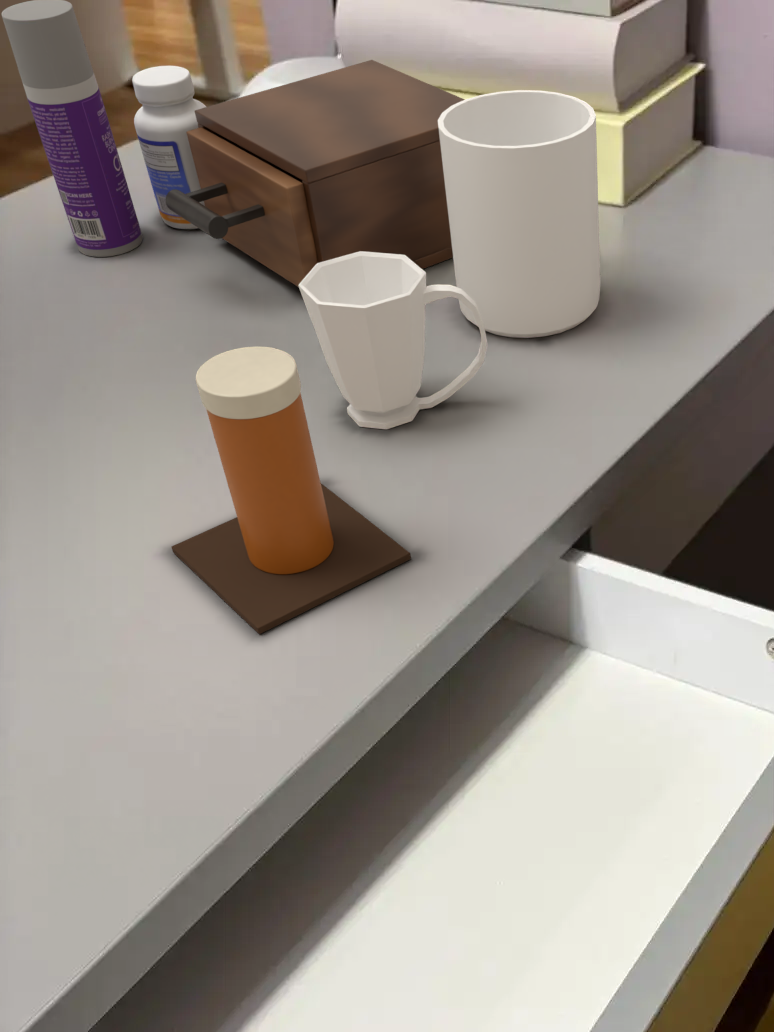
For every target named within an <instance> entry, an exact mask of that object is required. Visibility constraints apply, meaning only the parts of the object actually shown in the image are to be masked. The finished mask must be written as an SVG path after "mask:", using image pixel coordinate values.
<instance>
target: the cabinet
mask: <svg viewBox="0 0 774 1032" xmlns="http://www.w3.org/2000/svg"><path fill="white" fill-rule="evenodd" d="M463 100H465V98H463V97H460V96H458V95H456V94H453V93H451V92H449V91H446V90H444V89H441V88H439V87H437V86H434V85H432V84H431V83H427V82H426V81H423V80H421V79H418V78H416V77H414V76H411V75H409V74H406V73H405V72H401V71H400V70H397V69H395V68H393V67H390V66H388V65H386V64H384V63H381V62H379V61H376V60H373V59H370V60H366V61H362V62H358V63H355V64H352V65H349V66H345V67H342V68H338V69H334V70H331V71H327V72H324V73H321V74H317V75H313V76H310V77H307V78H303V79H299V80H296V81H293V82H289V83H285V84H282V85H278V86H276V87H271V88H268V89H265V90H261V91H258V92H254V93H251V94H250V93H249V94H248V95H244V96H241V97H237V98H233V99H229V100H227V101H223V102H219V103H216V104H212V105H209V106H206V107H205V108H202V109H198V110H195V116H196V120H197V122H198V128H200V127H202V128H204V129H205V130H207V131H209V132H211V133H213V134H214V135H216V136H218V137H220V138H222V139H224V140H225V141H227V139H228V140H230V141H232V142H234V143H236V144H237V145H239V146H241V147H243V148H245V149H246V150H248V151H250V152H252V153H254V154H256V155H257V156H259V157H261V158H263V159H265V160H266V161H268V162H270V163H272V164H274V165H276V166H277V167H279V168H281V169H283V170H285V171H286V172H288V173H290V174H292V175H294V176H296V177H297V178H299V179H301V180H302V183H303V187H304V192H305V197H306V202H307V207H308V212H309V217H310V223H311V228H312V233H313V238H314V243H315V248H316V253H317V259H318V263H320V262H323V261H327V260H330V259H334V258H338V257H341V256H345V255H348V254H352V253H356V252H359V251H364V252H376V253H389V254H401V255H406V256H407V257H408V258H409V259H410V260H412V261H413V262H414V263H415V264H416V265H418V266H419V267H420V268H421V269H422V270H424V269H426V268H429V267H431V266H435V265H437V264H440V263H442V262H445V261H447V260H450V259H453V251H452V242H451V234H450V225H449V216H448V207H447V198H446V190H445V181H444V172H443V163H442V154H441V146H440V137H439V128H438V119H439V117H440V115H441V114H442V112H444V111H445V110H446V109H448V108H449V107H450V106H452V105H454V104H456V103H459V102H461V101H463Z"/></svg>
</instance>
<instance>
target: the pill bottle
mask: <svg viewBox="0 0 774 1032" xmlns="http://www.w3.org/2000/svg"><path fill="white" fill-rule="evenodd" d="M131 81H132V86H133V89H134V94H135V98H136V99H137V101H138V103H139V104H141V105H142V106H141V107H140V108H139V109H138V110H137V111H136V113H135V115H134V118H133V124H134V129H135V131H136V136H137V140H138V143H139V147H140V151H141V153H142V157H143V161H144V164H145V168H146V171H147V175H148V177H149V182H150V184H151V188H152V191H153V195H154V198H155V202H156V205H157V208H158V212H159V215H160V217H161V220H162V221H163V223H164V224H166V225H167V226H169V227H171V228H174V229H179V230H196V229H199V228H198V227H196V226H195V225H193V224H191V223H190V222H188V221H187V220H185V219H184V218H182V217H181V216H179V215H177V214H176V213H174V212H173V211H171V210H170V209H169V208H168V207H167V205H166V195H167V194H168V192H169V191H171V190H174V189H177V190H179V191H181V192H183V193H184V194H186V193H190V192H193V191H196V190H199V189H201V188H200V184H199V180H198V176H197V172H196V168H195V164H194V160H193V156H192V153H191V149H190V145H189V141H188V137H187V133H186V132H187V131H190V130H193V129H197V128H198V122H197V120H196V116H195V110H198V109H202V108H205V107H207V106H206V105H205V104H204V103H203V102H202V101H200V100H198V99H196V98H193V97H194V96H195V87H194V82H193V80H192V77H191V73H190V70H188V69H187V68H185V67H183V66H178V65H159V66H151V67H148V68H144V69H143V70H140V71H138V72H136V73H135V74H133V76H132V79H131ZM199 203H201V204H202V205H204V206H205V204H204V201H202V202H199Z"/></svg>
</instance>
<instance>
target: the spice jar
mask: <svg viewBox="0 0 774 1032" xmlns="http://www.w3.org/2000/svg"><path fill="white" fill-rule="evenodd" d="M195 383H196V386H197V390H198V393H199V398H200V400H201V404H202V406H203V407H204V408H205V410H206V413H207V417H208V420H209V424H210V427H211V430H212V434H213V438H214V441H215V445H216V449H217V452H218V455H219V458H220V462H221V467H222V470H223V473H224V476H225V479H226V483H227V486H228V490H229V494H230V497H231V500H232V505H233V507H234V510H235V515H236V517H237V518H238V522H239V525H240V529H241V532H242V536H243V539H244V543H245V546H246V550H247V553H248V557H249V559H250V561H251V563H252V564H253V565H254V566H255V567H257V568H258V569H260V570H262V571H264V572H268V573H272V574H294V573H299V572H303V571H306V570H309V569H311V568H314V567H315V566H317V565H319V564H320V563H322V562H323V561H324V560H325V559H326V558H327V557H328V556H329V555H330V553H331V552H332V549H333V545H334V541H333V536H332V532H331V527H330V523H329V518H328V514H327V509H326V505H325V500H324V496H323V491H322V487H321V484H322V482H321V478H320V473H319V469H318V465H317V461H316V456H315V452H314V447H313V443H312V437H311V434H310V433H311V432H310V429H309V424H308V420H307V419H308V418H307V415H306V411H305V406H304V401H303V398H302V393H301V391H302V382H301V378H300V374H299V371H298V365H297V362H296V360H295V358H294V357H293V356H292V355H291V354H290V353H288V352H286V351H285V350H282V349H279V348H275V347H271V346H260V345H259V346H245V347H238V348H234V349H230V350H227V351H223V352H221V353H218V354H216V355H214V356H212V357H210V358H209V359H207V360H206V361H205V362H203V363H202V364H201V365H200V367H199V368H198V369H197V371H196V375H195Z"/></svg>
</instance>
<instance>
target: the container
mask: <svg viewBox="0 0 774 1032" xmlns="http://www.w3.org/2000/svg"><path fill="white" fill-rule="evenodd" d="M1 19H2V21H3V24H4V28H5V31H6V34H7V37H8V40H9V44H10V47H11V51H12V54H13V57H14V60H15V63H16V66H17V70H18V73H19V76H20V79H21V82H22V85H23V89H24V92H25V95H26V99H27V102H28V104H29V105H28V106H29V108H30V111H31V114H32V117H33V120H34V122H35V125H36V129H37V131H38V135H39V137H40V141H41V144H42V146H43V149H44V153H45V155H46V158H47V162H48V164H49V167H50V170H51V173H52V177H53V179H54V181H55V184H56V188H57V192H58V194H59V197H60V200H61V203H62V206H63V208H64V212H65V215H66V218H67V220H68V223H69V226H70V230H71V233H72V236H73V238H74V241H75V244H76V246H77V249H78V251H79V252H80V253H81V254H83V255H85V256H89V257H96V258H98V257H99V258H102V257H103V258H104V257H105V258H107V257H113V256H119V255H122V254H125V253H128V252H130V251H133V250H134V249H136V248H138V247H139V246H140V245H141V244H142V242H143V239H144V237H143V234H142V233H143V232H142V229H141V226H140V222H139V219H138V216H137V212H136V209H135V205H134V203H133V199H132V195H131V193H130V189H129V186H128V183H127V179H126V174H125V171H124V168H123V165H122V161H121V158H120V156H119V152H118V148H117V145H116V141H115V138H114V134H113V130H112V128H111V125H110V120H109V117H108V114H107V111H106V108H105V104H104V101H103V97H102V94H101V89H100V88H99V84H98V81H97V78H96V75H95V71H94V68H93V65H92V62H91V59H90V57H89V56H90V55H89V53H88V50H87V46H86V44H85V40H84V38H83V35H82V32H81V29H80V25H79V22H78V19H77V15H76V12H75V9H74V7H73V4H72V3H71V2H69V1H67V0H28V1H24V2H20V3H15V4H12V5H10V6H8V7H6V8H4V9H3V10H2V12H1Z"/></svg>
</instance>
